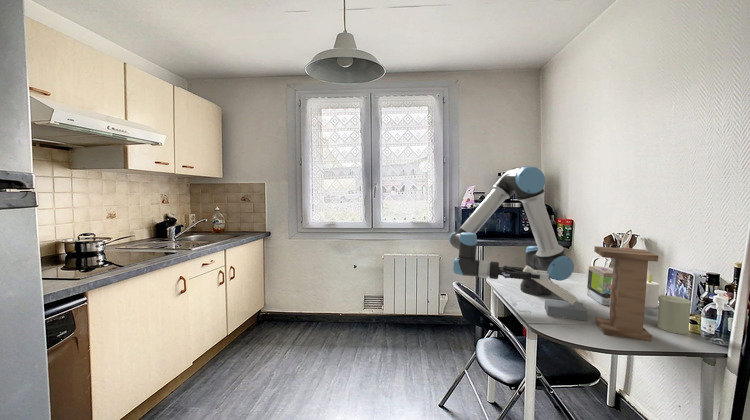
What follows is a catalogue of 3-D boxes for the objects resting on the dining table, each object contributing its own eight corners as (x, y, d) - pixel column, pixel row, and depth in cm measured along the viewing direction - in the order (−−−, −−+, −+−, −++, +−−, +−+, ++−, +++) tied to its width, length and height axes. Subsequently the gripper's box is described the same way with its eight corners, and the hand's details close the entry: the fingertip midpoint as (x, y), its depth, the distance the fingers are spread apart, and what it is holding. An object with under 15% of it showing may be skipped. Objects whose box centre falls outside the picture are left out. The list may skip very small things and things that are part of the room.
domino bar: (522, 270, 148) (526, 264, 147) (570, 301, 142) (575, 295, 142) (523, 272, 144) (527, 267, 143) (572, 304, 138) (577, 298, 138)
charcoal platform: (544, 307, 149) (544, 298, 149) (581, 312, 144) (581, 302, 144) (547, 315, 140) (547, 306, 139) (586, 320, 135) (587, 311, 134)
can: (650, 323, 133) (652, 293, 132) (672, 323, 133) (674, 293, 133) (672, 334, 124) (675, 302, 123) (696, 334, 124) (698, 302, 123)
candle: (659, 305, 154) (662, 273, 152) (655, 308, 150) (658, 275, 148) (642, 301, 159) (644, 270, 157) (637, 304, 154) (640, 272, 153)
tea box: (625, 306, 152) (628, 274, 151) (601, 305, 153) (603, 272, 152) (608, 295, 167) (610, 266, 165) (585, 294, 168) (587, 265, 167)
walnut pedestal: (589, 321, 134) (594, 246, 132) (638, 327, 129) (644, 249, 127) (597, 333, 123) (603, 251, 121) (651, 341, 118) (658, 255, 115)
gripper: (489, 273, 159) (544, 279, 151) (488, 283, 143) (549, 290, 135) (490, 257, 159) (545, 262, 151) (489, 265, 142) (551, 272, 134)
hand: (547, 275), depth 143 cm, fingers closed on domino bar, 4 cm apart
